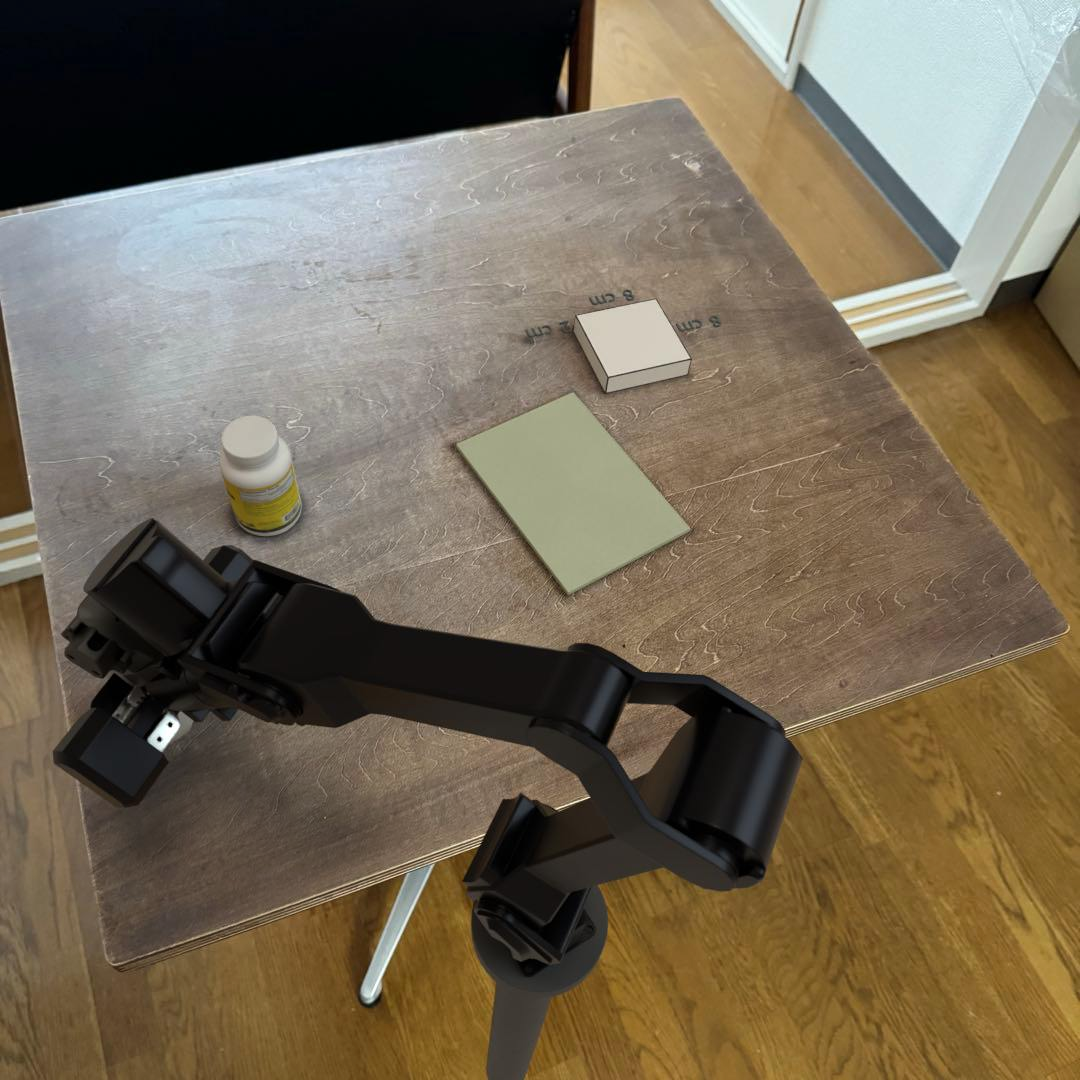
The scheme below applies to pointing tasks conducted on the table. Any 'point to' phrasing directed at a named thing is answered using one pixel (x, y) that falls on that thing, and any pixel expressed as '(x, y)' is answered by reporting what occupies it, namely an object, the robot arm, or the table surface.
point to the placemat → (572, 491)
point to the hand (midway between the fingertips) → (130, 676)
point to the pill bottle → (259, 476)
